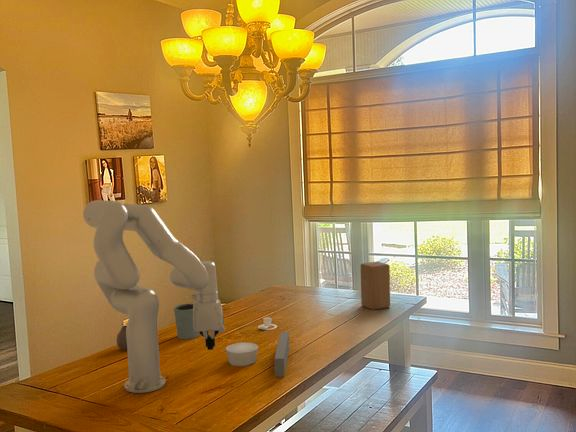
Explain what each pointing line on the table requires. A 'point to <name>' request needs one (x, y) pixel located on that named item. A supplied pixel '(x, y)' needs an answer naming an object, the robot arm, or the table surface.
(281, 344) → the board
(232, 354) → the ramekin
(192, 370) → the table surface
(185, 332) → the blue-grey plant pot
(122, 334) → the vase
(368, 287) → the wooden block
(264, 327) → the white ring with peg
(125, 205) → the robot arm
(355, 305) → the table surface
